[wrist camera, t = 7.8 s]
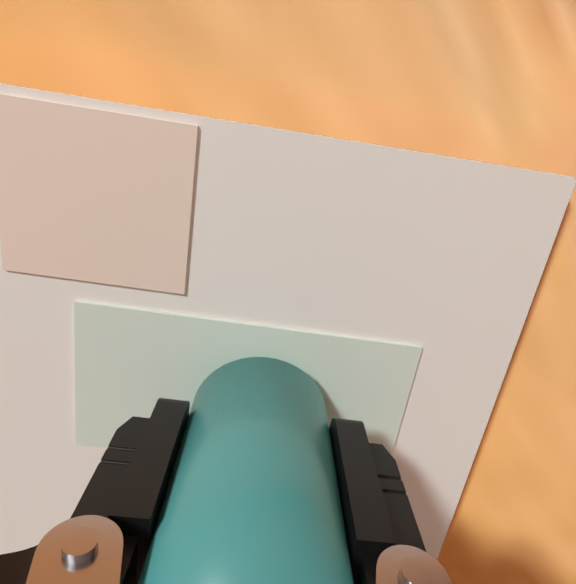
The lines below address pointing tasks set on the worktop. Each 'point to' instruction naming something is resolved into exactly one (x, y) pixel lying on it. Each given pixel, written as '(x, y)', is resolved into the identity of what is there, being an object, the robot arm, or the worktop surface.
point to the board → (249, 286)
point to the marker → (252, 485)
